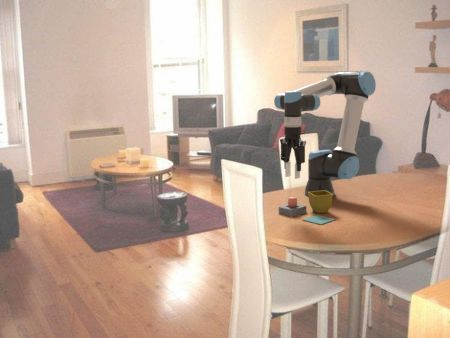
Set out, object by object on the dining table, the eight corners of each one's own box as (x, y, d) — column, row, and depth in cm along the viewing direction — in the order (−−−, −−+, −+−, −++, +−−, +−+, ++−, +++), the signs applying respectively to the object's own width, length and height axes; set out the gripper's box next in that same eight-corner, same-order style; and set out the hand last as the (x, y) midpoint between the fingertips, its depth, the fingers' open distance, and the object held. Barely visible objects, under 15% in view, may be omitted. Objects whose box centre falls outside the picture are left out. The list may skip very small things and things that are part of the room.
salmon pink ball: (292, 204, 246) (292, 196, 246) (298, 206, 243) (298, 197, 243) (286, 206, 244) (286, 198, 243) (292, 208, 241) (292, 199, 240)
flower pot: (315, 215, 240) (315, 195, 238) (307, 210, 248) (307, 191, 246) (333, 213, 242) (333, 194, 240) (324, 208, 250) (324, 190, 248)
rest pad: (316, 215, 239) (317, 214, 239) (335, 220, 231) (335, 219, 231) (302, 220, 232) (302, 219, 232) (320, 225, 225) (320, 224, 225)
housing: (293, 209, 250) (293, 202, 250) (306, 212, 244) (306, 205, 244) (278, 213, 244) (278, 206, 243) (291, 216, 238) (291, 210, 237)
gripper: (272, 125, 241) (272, 175, 245) (302, 128, 227) (302, 181, 232) (283, 123, 245) (283, 173, 250) (314, 126, 232) (313, 178, 237)
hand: (292, 177), depth 241 cm, fingers open, 5 cm apart
